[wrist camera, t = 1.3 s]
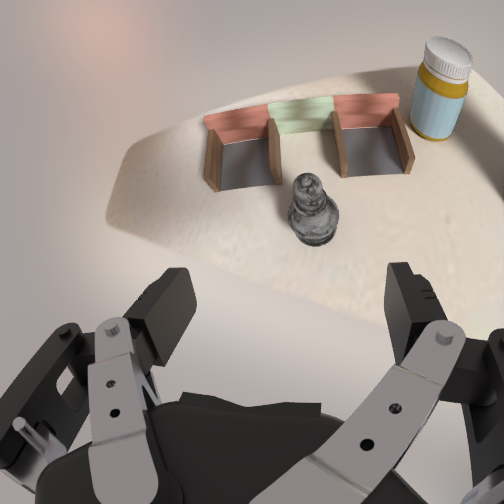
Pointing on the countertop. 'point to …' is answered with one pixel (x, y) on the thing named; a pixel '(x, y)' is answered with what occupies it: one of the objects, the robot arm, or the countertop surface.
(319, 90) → the countertop surface
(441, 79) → the bottle
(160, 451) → the robot arm
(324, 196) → the grey chess piece
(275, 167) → the bay rack
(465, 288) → the countertop surface
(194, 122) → the countertop surface
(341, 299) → the countertop surface
